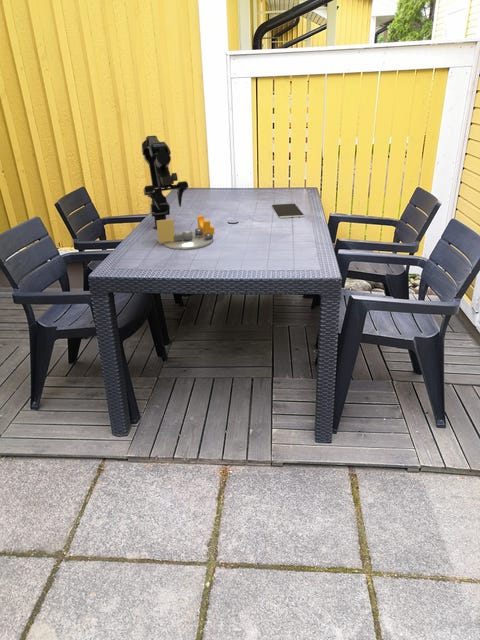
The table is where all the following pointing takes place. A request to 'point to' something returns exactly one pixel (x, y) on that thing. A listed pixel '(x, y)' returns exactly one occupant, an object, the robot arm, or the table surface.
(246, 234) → the table surface
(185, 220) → the table surface
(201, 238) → the dial plate
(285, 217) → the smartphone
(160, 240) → the tan upright panel
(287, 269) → the table surface
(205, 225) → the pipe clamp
